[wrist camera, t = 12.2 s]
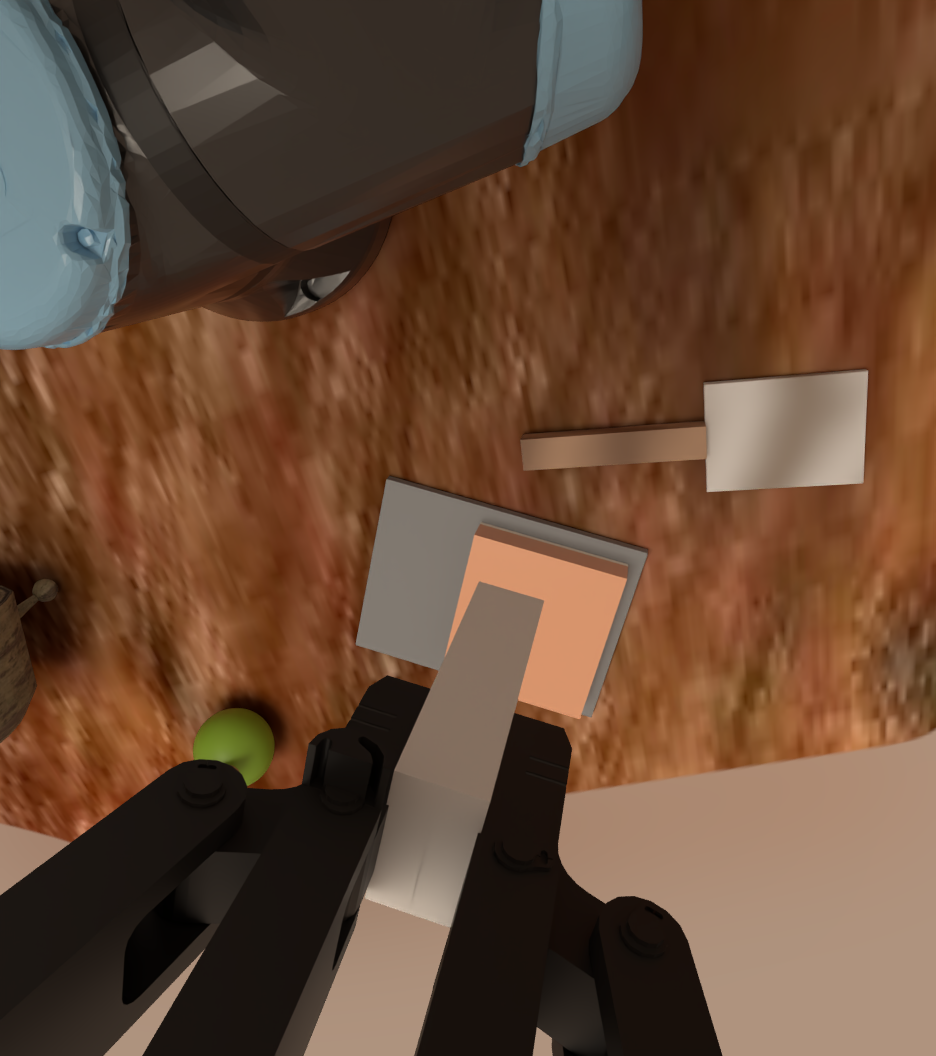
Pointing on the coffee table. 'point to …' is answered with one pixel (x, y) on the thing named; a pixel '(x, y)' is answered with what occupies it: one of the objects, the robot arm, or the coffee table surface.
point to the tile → (550, 609)
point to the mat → (455, 571)
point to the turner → (738, 435)
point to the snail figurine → (237, 742)
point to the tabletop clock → (17, 655)
